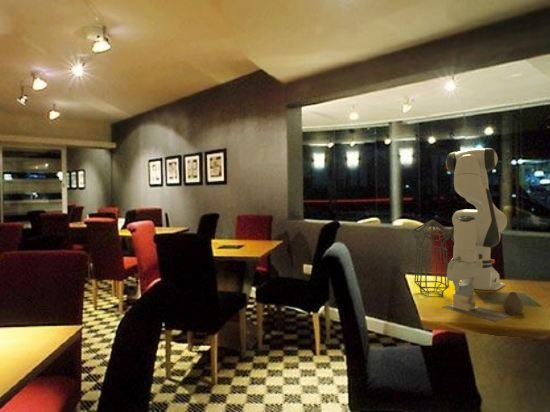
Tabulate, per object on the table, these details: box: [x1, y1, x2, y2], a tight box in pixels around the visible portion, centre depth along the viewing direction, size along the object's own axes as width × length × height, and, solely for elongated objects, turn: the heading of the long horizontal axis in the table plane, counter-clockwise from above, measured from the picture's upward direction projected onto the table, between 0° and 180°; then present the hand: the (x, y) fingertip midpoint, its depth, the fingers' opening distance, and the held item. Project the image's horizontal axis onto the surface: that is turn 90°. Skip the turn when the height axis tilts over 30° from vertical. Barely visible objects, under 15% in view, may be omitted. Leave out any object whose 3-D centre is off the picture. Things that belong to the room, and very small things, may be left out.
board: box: [441, 303, 514, 323], centre depth 164 cm, size 13×22×1 cm, turn 34°
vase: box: [502, 291, 524, 315], centre depth 162 cm, size 7×7×9 cm
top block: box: [454, 283, 475, 297], centre depth 169 cm, size 5×5×4 cm
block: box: [452, 293, 476, 309], centre depth 169 cm, size 6×6×5 cm
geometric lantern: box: [411, 219, 451, 298], centre depth 192 cm, size 16×16×35 cm
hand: (464, 289), depth 169 cm, fingers open, 8 cm apart
